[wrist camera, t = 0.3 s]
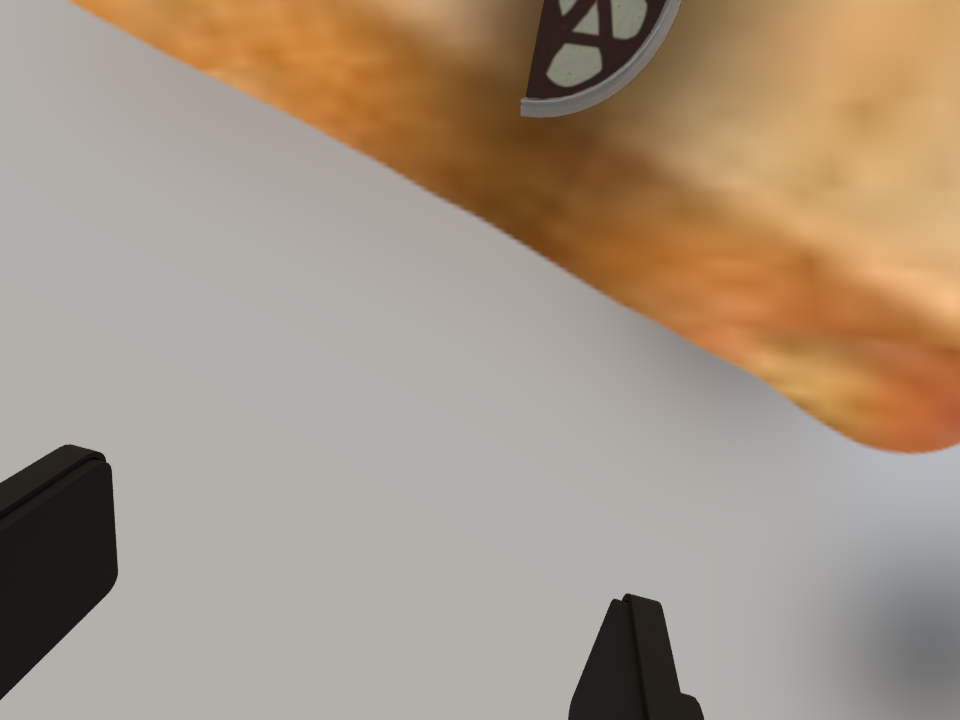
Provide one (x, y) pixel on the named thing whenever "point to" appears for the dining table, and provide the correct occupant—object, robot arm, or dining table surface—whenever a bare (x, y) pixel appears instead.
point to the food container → (592, 51)
